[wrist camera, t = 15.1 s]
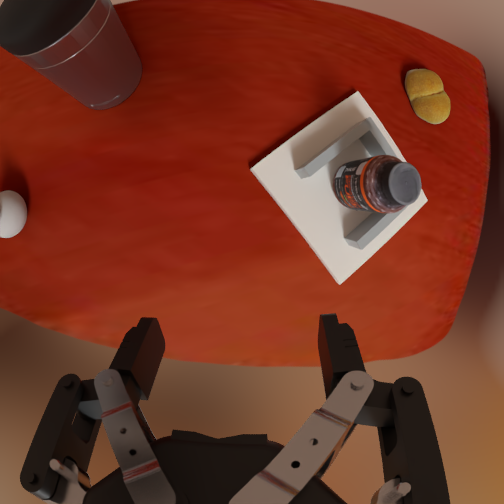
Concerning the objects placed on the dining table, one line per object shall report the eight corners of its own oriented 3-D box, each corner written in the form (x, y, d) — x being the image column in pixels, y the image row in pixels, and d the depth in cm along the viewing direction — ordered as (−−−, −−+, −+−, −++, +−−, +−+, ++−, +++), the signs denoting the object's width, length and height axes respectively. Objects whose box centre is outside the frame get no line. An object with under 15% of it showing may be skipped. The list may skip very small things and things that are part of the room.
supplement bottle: (321, 177, 34) (368, 169, 23) (357, 153, 34) (410, 139, 23) (346, 219, 35) (398, 228, 24) (380, 194, 35) (437, 194, 24)
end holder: (336, 282, 37) (351, 292, 33) (249, 169, 34) (254, 164, 29) (423, 200, 37) (443, 201, 33) (354, 93, 33) (370, 82, 29)
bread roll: (417, 129, 36) (434, 124, 32) (394, 74, 34) (409, 65, 30) (449, 120, 36) (465, 116, 32) (429, 70, 34) (443, 63, 30)
